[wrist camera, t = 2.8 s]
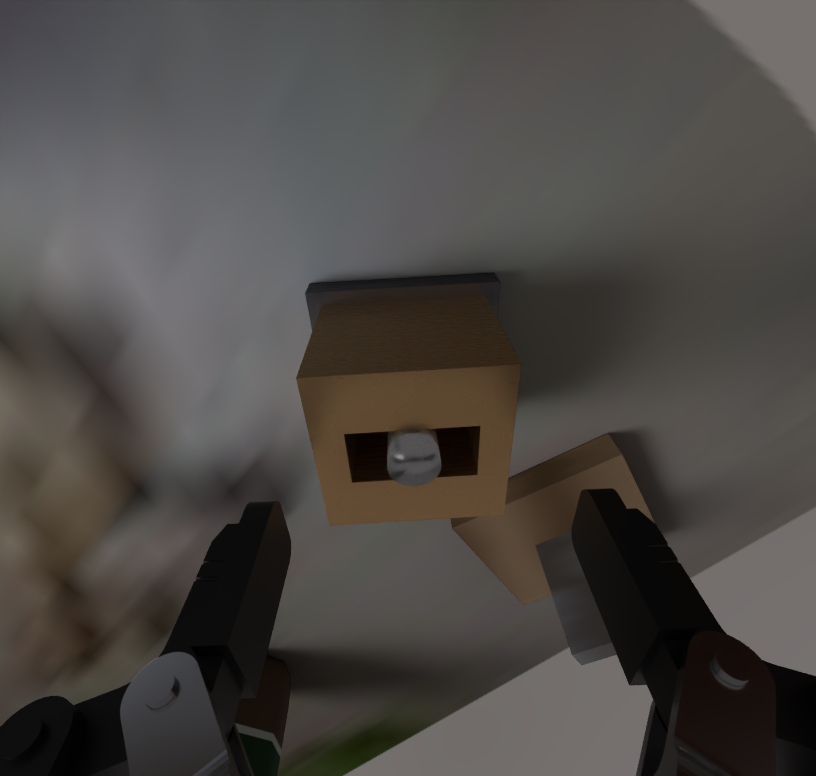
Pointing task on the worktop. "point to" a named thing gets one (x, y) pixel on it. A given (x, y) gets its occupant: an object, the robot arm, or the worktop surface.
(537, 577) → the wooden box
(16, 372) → the worktop surface
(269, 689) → the beer bottle
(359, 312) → the brown slotted box
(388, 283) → the charcoal stand
